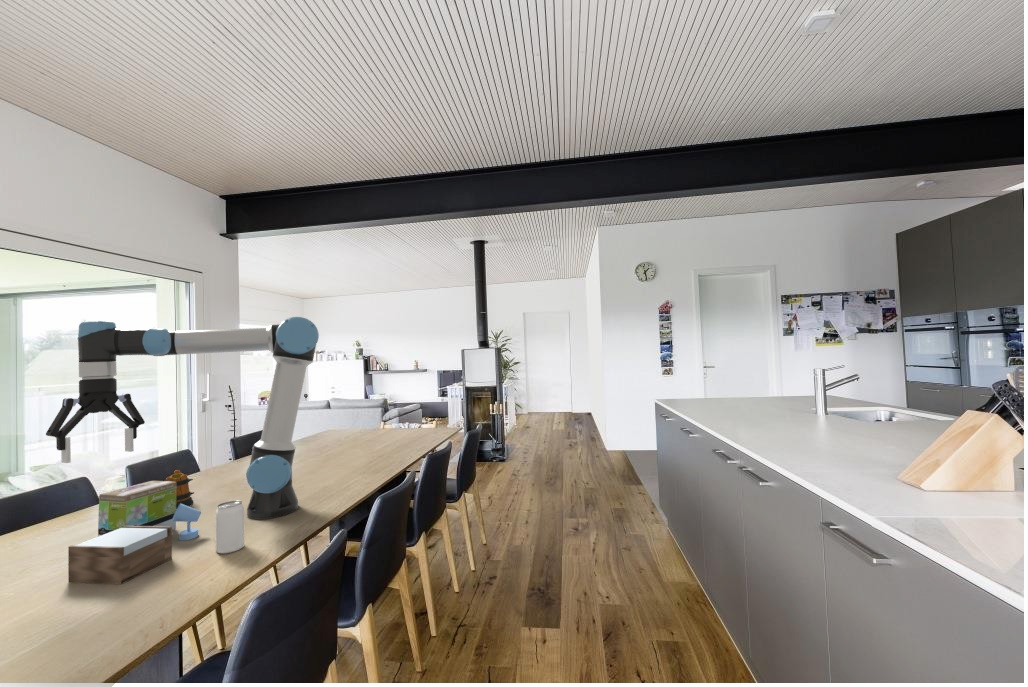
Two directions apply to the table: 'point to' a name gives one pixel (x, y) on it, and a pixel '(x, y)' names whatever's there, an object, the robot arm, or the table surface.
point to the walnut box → (116, 560)
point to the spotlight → (187, 520)
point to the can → (229, 527)
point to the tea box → (138, 506)
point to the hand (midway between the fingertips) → (99, 456)
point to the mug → (181, 488)
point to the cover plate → (128, 538)
